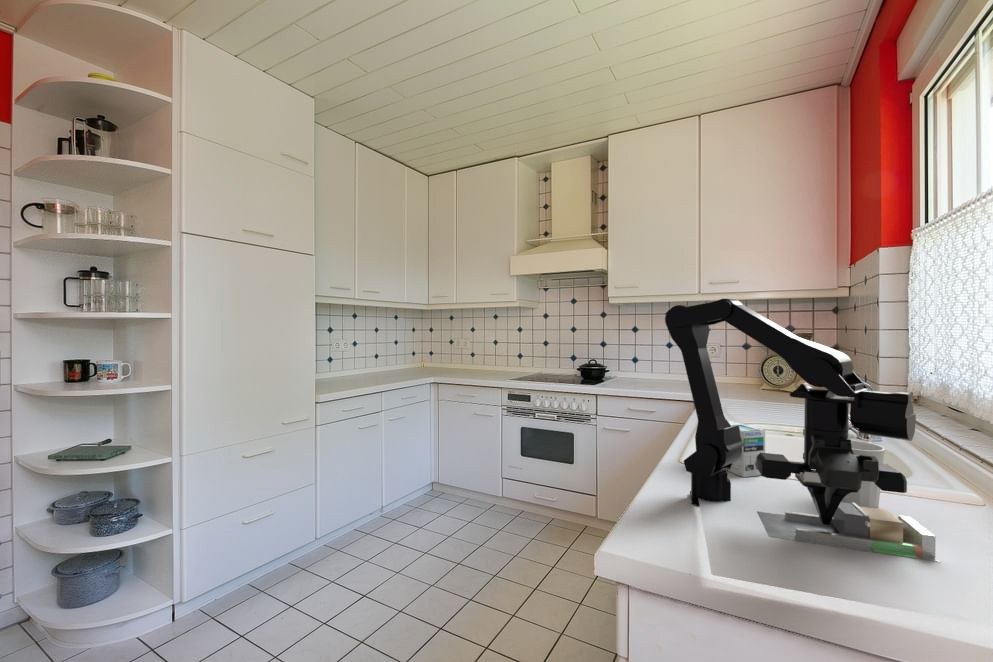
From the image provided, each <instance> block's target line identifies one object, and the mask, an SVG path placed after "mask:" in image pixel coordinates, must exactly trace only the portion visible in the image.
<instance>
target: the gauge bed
mask: <svg viewBox="0 0 993 662" xmlns="http://www.w3.org/2000/svg"><path fill="white" fill-rule="evenodd" d="M757 515H758V516H759V519H760V521H761V522H762V525H763V526H764V529H765V531H766V532H767V534H768V537H769V538H774V539H775V538H776V539H783V540H790V541H796V542H803V543H809V544H814V545H815V544H816V545H821V546H829V547H836V548H843V549H849V550H855V551H861V552H868V553H869V552H870V553H876V554H881V555H889V556H896V557H902V558H909V559H914V560H922V561H928V562H936V563H942V561H941V560H940V559H939V558H937V557H936V556H935V557H932V556H925V555H923V547H922V546H921V545H915V544H909V543H908V542H907V541H906V540H905V539H904V538H903V543H901V542H894V541H887V540H880V539H873V538H866V537H858V536H851V535H844V534H840V533H839V532H838V531H837V529H836V528H835V527H834V526H833V518H832V520H831V522H830V524H829V525H824V524H823V523H822V522H821V520H820V517H819V515H818V514H812V513H806V512H805V513H804V512H795V511H789V510H784V514H778V513H770V512H764V511H757Z"/></svg>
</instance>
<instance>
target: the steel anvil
mask: <svg viewBox="0 0 993 662" xmlns="http://www.w3.org/2000/svg"><path fill="white" fill-rule="evenodd" d="M897 518H898V519H899V520H900V521H902V522H903V538H904V539H905V540H906V541H907V542H908V543H909V544H915V545H921V546H922V547H923V555H925V556H932V557H936V538H937V537H936V536H935V534H934V533H932V532H930V531H929V530H928V529H927V528H926V527H924V526H923V525H922V524H920V523H919V522H918V521H916V520H915V519H914V518H913V517H912V516H909V515H908V516H907V515H901V514H898V516H897Z"/></svg>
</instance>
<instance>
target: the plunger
mask: <svg viewBox="0 0 993 662" xmlns="http://www.w3.org/2000/svg"><path fill="white" fill-rule="evenodd" d="M833 526H834V527H835V528H836V529H837V531H838V532H839V533H840V534H844V535H851V536H858V537H866V538H869V527H870V523H869V516H868V515H867V514H866V513H865V512H864V511H863V510H862V509H861V508H860V507H859V506H858V505H857V504H856V503H853V502H852V504H851V503H842V502H840V504H839V506H838V508H837V510H836V512H835V514H834V516H833Z"/></svg>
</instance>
